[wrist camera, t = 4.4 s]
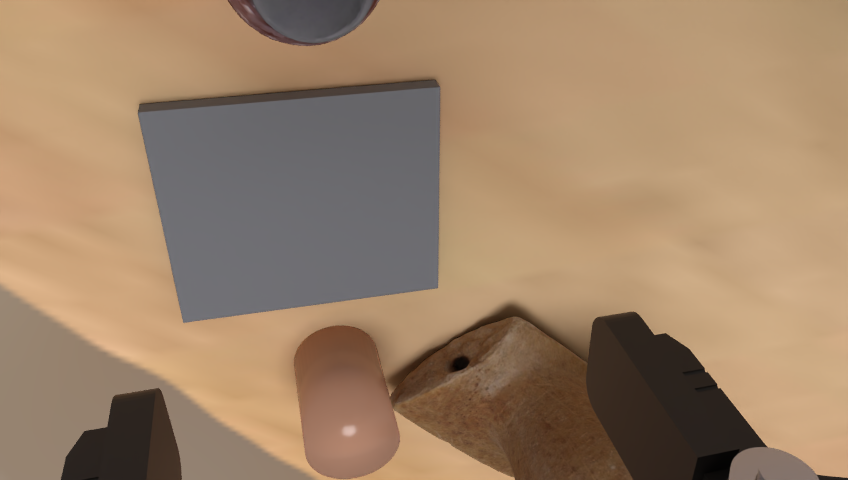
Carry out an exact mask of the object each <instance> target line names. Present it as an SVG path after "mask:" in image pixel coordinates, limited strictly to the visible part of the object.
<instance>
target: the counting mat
mask: <svg viewBox="0 0 848 480" xmlns="http://www.w3.org/2000/svg"><path fill="white" fill-rule="evenodd" d="M138 116H139V120H140V125H141V130H142V134H143V139H144V143H145V148H146V153H147V157H148V162H149V166H150V171H151V176H152V180H153V185H154V189H155V194H156V199H157V203H158V208H159V213H160V217H161V222H162V226H163V231H164V236H165V240H166V245H167V249H168V254H169V259H170V263H171V268H172V272H173V277H174V282H175V286H176V291H177V295H178V300H179V305H180V309H181V314H182V319H183V323H185V322H192V321H200V320H207V319H214V318H222V317H229V316H236V315H244V314H251V313H258V312H266V311H273V310H281V309H288V308H295V307H303V306H310V305H317V304H325V303H332V302H339V301H347V300H354V299H361V298H369V297H376V296H383V295H391V294H398V293H405V292H413V291H420V290H427V289H435V288H438V242H439V150H440V86H439V84H438V83H437V82H436V80H427V81H415V82H403V83H391V84H379V85H367V86H355V87H343V88H330V89H318V90H306V91H294V92H282V93H270V94H258V95H246V96H234V97H222V98H210V99H198V100H185V101H173V102H161V103H149V104H140V105H139V110H138Z"/></svg>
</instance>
